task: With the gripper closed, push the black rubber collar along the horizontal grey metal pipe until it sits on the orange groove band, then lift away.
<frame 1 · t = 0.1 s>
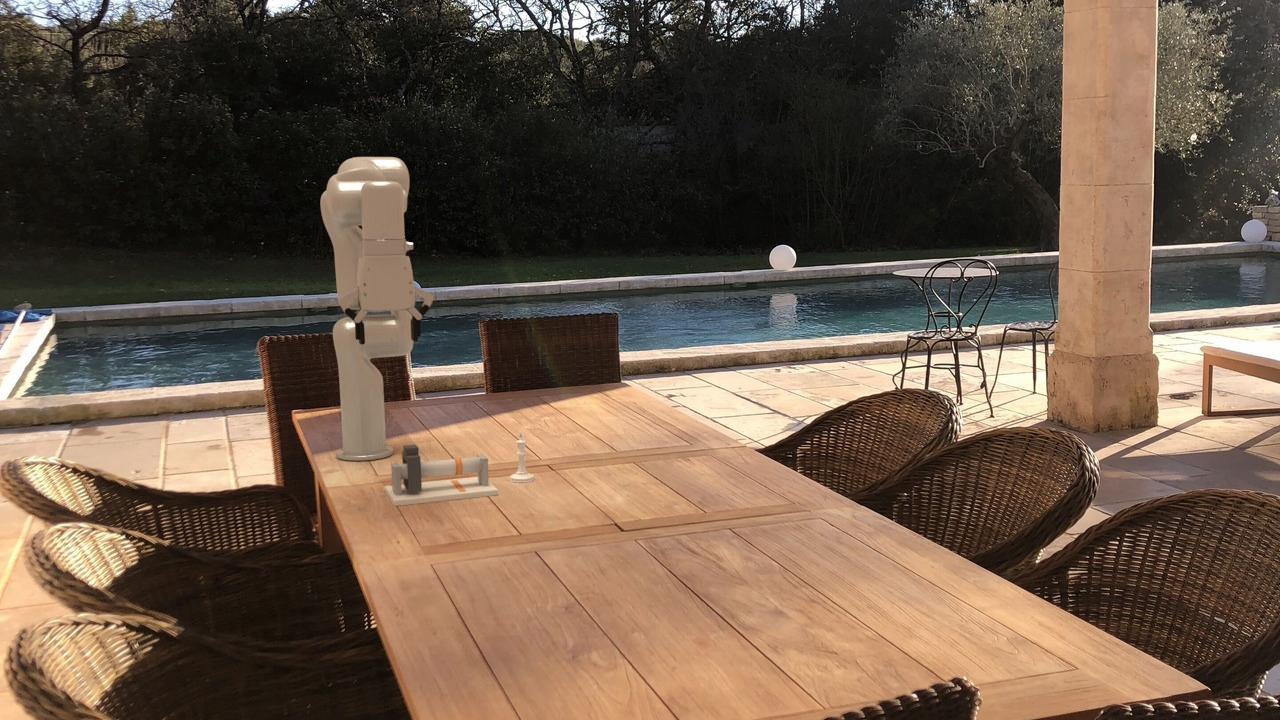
hand: (388, 342, 208), 31 cm above the table, fingers open, 9 cm apart
chess piece: (522, 480, 230), on the table
rail: (440, 492, 220), on the table
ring: (411, 467, 217), point 6 cm above the table, slide at 0.0 cm
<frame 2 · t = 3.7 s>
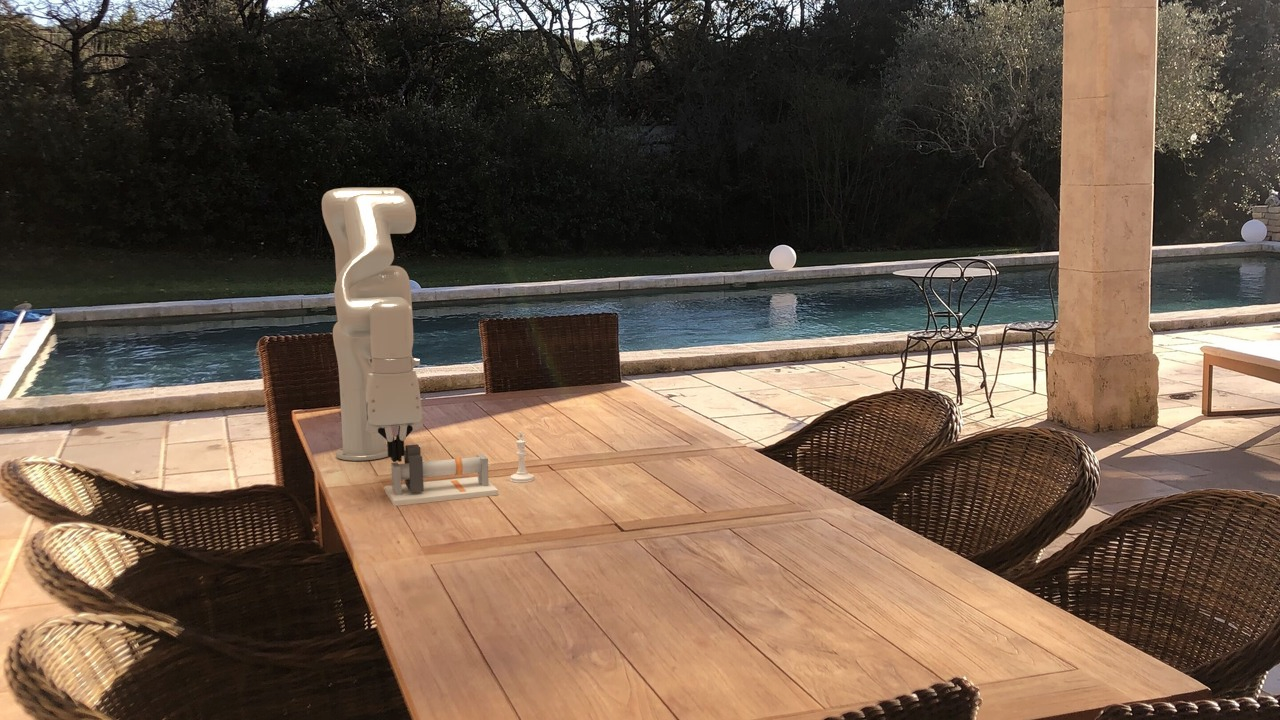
hand: (396, 460, 216), 7 cm above the table, fingers closed
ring: (413, 467, 218), point 6 cm above the table, slide at 0.4 cm, touching gripper
everything else where it was.
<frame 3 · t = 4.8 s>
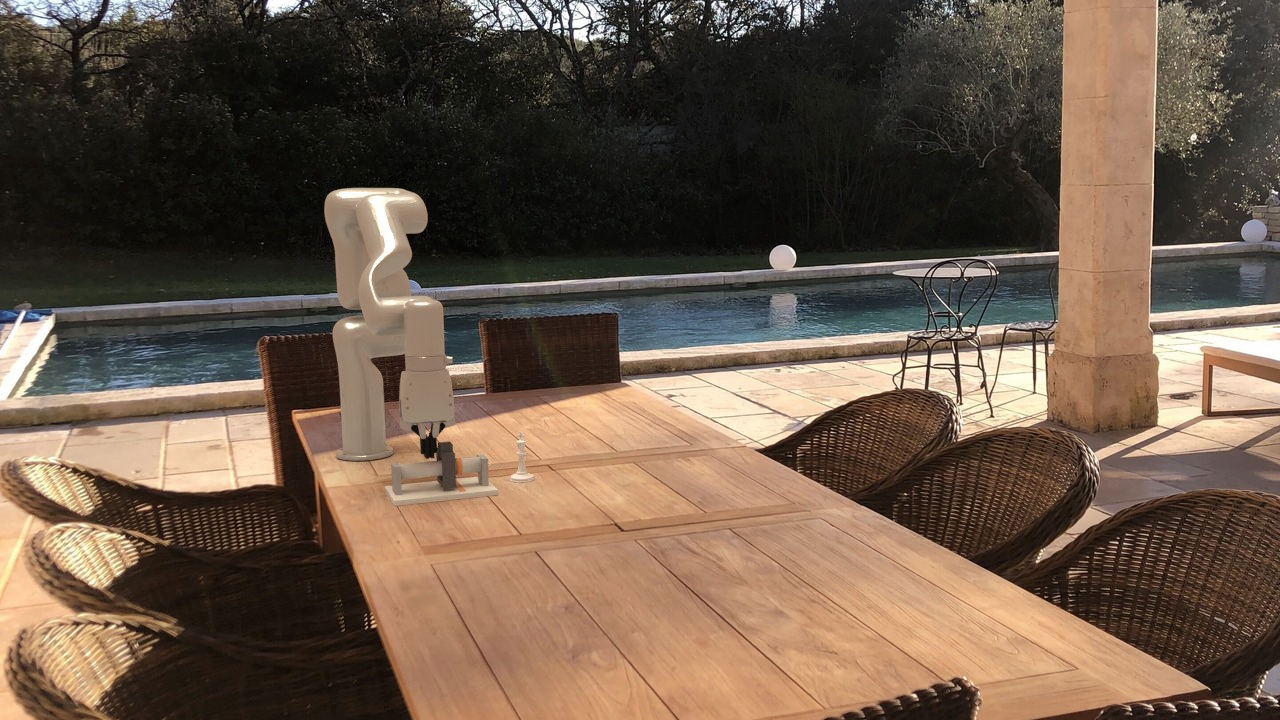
hand: (429, 457, 218), 7 cm above the table, fingers closed
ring: (445, 464, 220), point 6 cm above the table, slide at 6.7 cm, touching gripper
everything else where it was.
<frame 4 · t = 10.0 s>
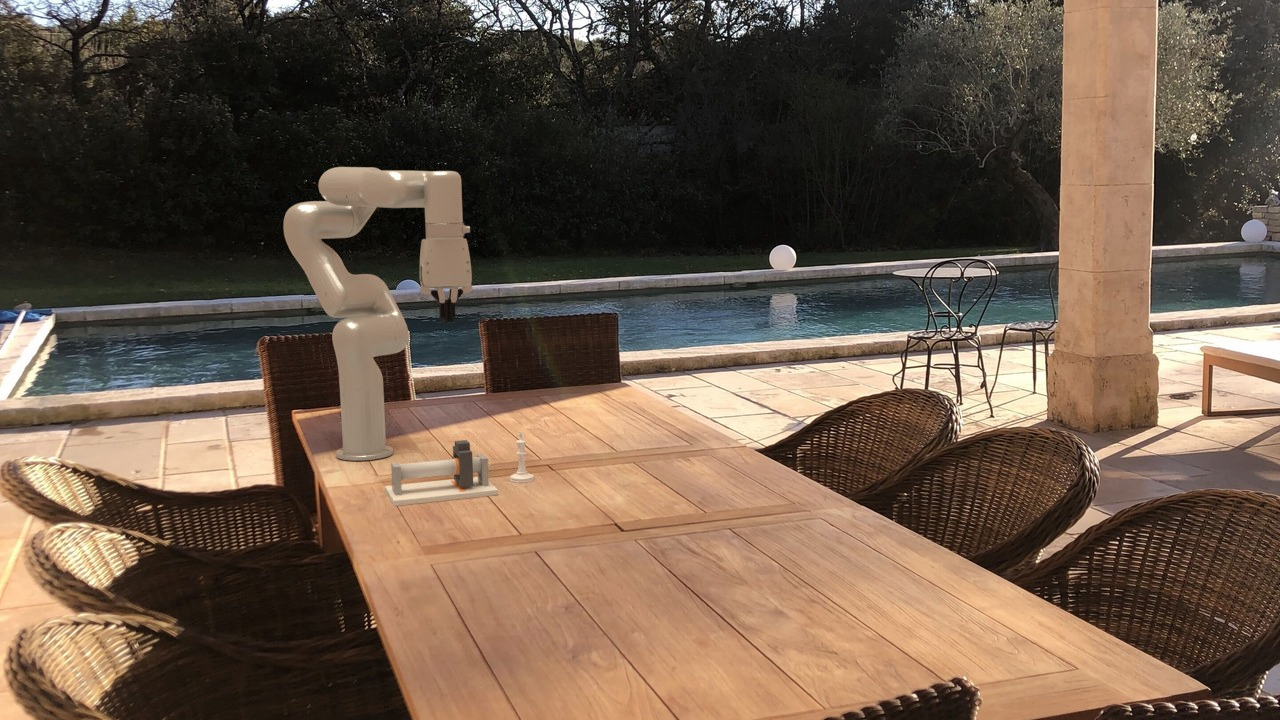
hand: (447, 321, 231), 32 cm above the table, fingers closed
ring: (462, 462, 221), point 6 cm above the table, slide at 10.0 cm
everything else where it was.
at the end: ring slide at 10.0 cm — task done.
